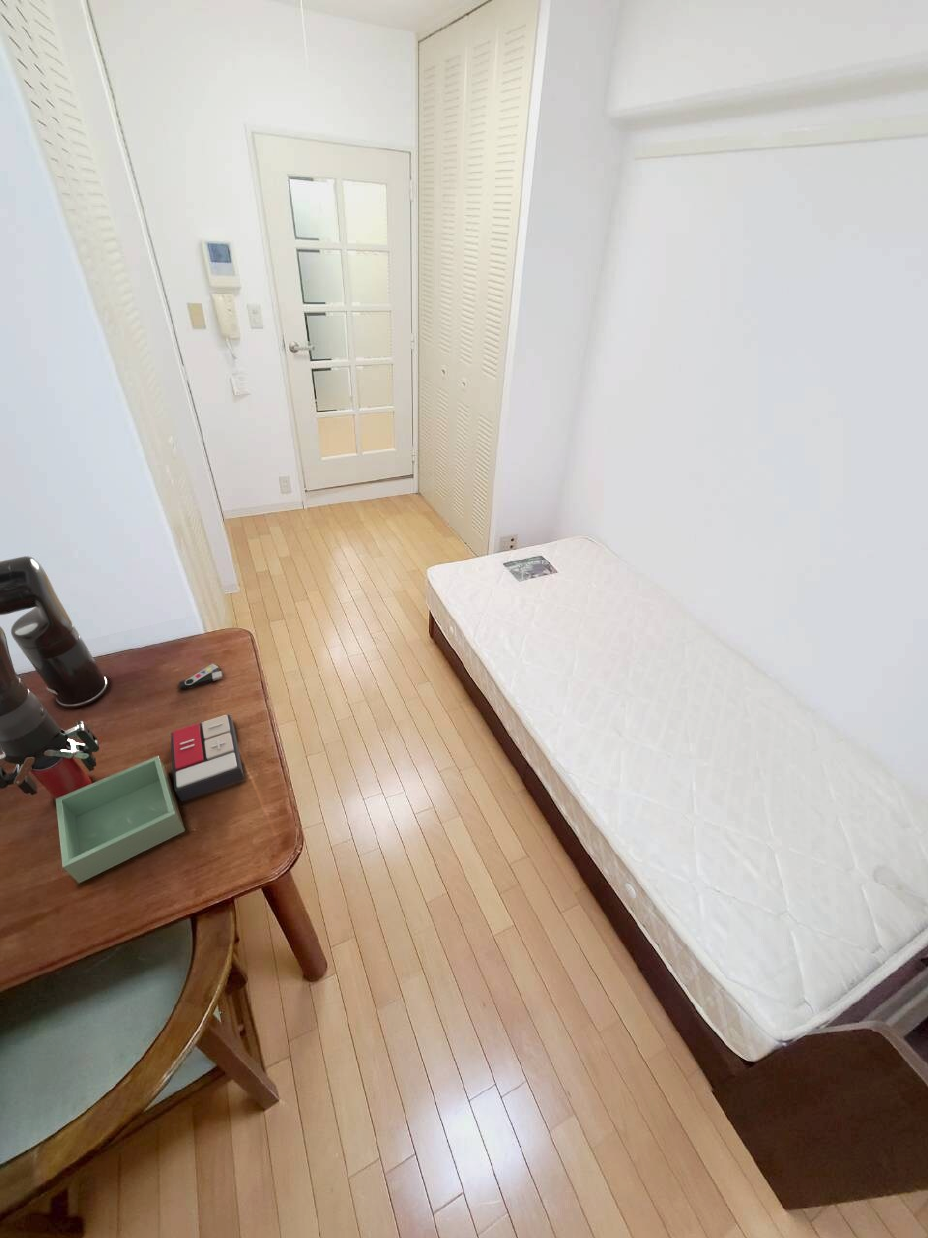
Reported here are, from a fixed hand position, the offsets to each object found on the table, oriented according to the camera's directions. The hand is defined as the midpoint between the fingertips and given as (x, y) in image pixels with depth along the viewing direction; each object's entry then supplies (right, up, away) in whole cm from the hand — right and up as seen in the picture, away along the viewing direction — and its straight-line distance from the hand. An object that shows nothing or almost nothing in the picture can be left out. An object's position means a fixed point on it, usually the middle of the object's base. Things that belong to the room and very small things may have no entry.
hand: (63, 778), depth 90 cm
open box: (+13, -7, -2) cm, 15 cm away
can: (0, -3, +2) cm, 4 cm away
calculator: (+21, +1, +9) cm, 23 cm away
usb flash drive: (+11, +15, +25) cm, 31 cm away
